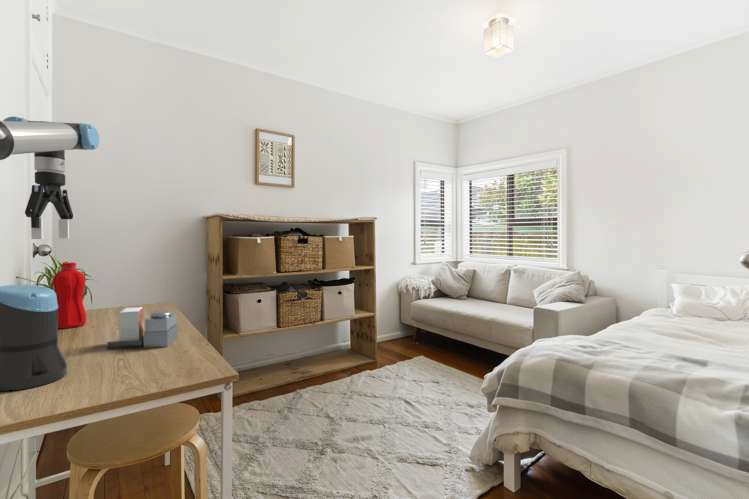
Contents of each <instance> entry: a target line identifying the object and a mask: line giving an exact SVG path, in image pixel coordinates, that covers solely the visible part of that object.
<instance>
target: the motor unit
mask: <svg viewBox="0 0 749 499" xmlns="http://www.w3.org/2000/svg"><path fill="white" fill-rule="evenodd" d="M144 322H145V324H144V328H145V330H144V337H143V338H142V339H141V340H139V341H120V338H118V339H117V340H115V341H108V342H107V343H106V344H107V347H106V348H107V350H122V349H123V350H125V349H142V348H144V349H147V348H150V349H151V348H168V347H169V346H170V345H171V344H172V343H174V342H175V341H176V340H177V339H179V332H178V329H179V327H178V326H179V325H178V323H177V312H172V311H170V310H160V311H159V310H158V311H154V312H151V313H150V316H149V317H148V318H146V319H145V320H144ZM175 339H176V340H175Z"/></svg>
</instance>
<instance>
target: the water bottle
mask: <svg viewBox="0 0 749 499" xmlns="http://www.w3.org/2000/svg"><path fill="white" fill-rule="evenodd" d="M52 278H53V279H52V286H53V289H54V290H53V291H54V292H55V293H56V296H57V304H58V329H63V330H64V329H70V328H71V329H72V328H76V327H77V328H78V327H82V326H84V325H85V324H87V313H86V310H85V306H84V303H83V294H84V290H85V286H86V279H85V276H84V274H83V273H82V272H81V271H78V270H77V262H74V261H73V262H72V261H69V262H63V263H61V270H60V271H59V272H56V273H55V274H54V276H53V277H52Z"/></svg>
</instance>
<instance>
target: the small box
mask: <svg viewBox="0 0 749 499" xmlns="http://www.w3.org/2000/svg"><path fill="white" fill-rule="evenodd" d="M118 318H119V321H118V325H119V327H118V328H119V339H120V341H139V340H141V339H142V338H143V337H144V332H145V330H144V328H145V324H144V322H145V321H144V306H140V307H124V309H122V310H120V312H118Z"/></svg>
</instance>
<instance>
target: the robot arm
mask: <svg viewBox="0 0 749 499" xmlns="http://www.w3.org/2000/svg"><path fill="white" fill-rule="evenodd" d="M99 146H100V134H99V132H98V129H97V128H96V127H95V126H94V125H93V124H90V123H89V124H88V123H82V122H80V123H78V122H77V123H75V122H58V121H57V122H56V121H55V122H54V121H44V120H43V121H42V120H40V121H38V120H37V121H36V120H27V119H26V118H23V117H19V116H9V117H5V118H4V119H3V120H0V161H3V160H5V159H8V158H9V157H10V156H11V155H21V154H22V155H23V154H24V155H25V154H33V156H34V161H33V164H34V167H33V168H34V170H35V172H34V183H35V184H32V185H31V193H30V196H29V198H28V202H27V205H26V207H25V211H24V214H25V217H26V218H30V224H31V225H30V227H31V229H30V232H31V234H30V235H31V238H30V239H31V240H44V218H43V217H42V214H43V213H44V211H45V210H46V207H47V206H48V204H49V203H51V204H52V205H53V206H54V208H55V211H56V213H57V215H58V216H59V219H58V239H70V220H73V219H74V213H73V210H72V206H71V203H70V201H69V197H68V190H67V189H62V188H61V187H63V186H66V175H65V174H64V173H65V172H66V165H67V163H66V161H65V160H66V157H65V151H70V150H71V151H72V150H82V151H87V150H89V151H91V150H92V151H93V150H96V149H97V148H98V147H99ZM58 329H59V328H58V304H57V296H56V293H55V290H53V289H52V288H50V287H46V286H39V285H31V284H30V285H29V284H27V285H26V284H23V285H22V284H21V285H20V284H11V285H10V284H8V285H1V286H0V392H10V391H9V390H13V391H19V390H24V389H25V390H26V389H31V388H36V387H39V386H45V385H47V384H50V383H53V382H55V381H58V380H60V379H62V378H64V377H65V376H66V375H67V374H68V364H67V362H66V359H65V357H64V356H63V353H62V351H61V349H60V346H59V341H58V340H59V338H58V336H59V331H58Z"/></svg>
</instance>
